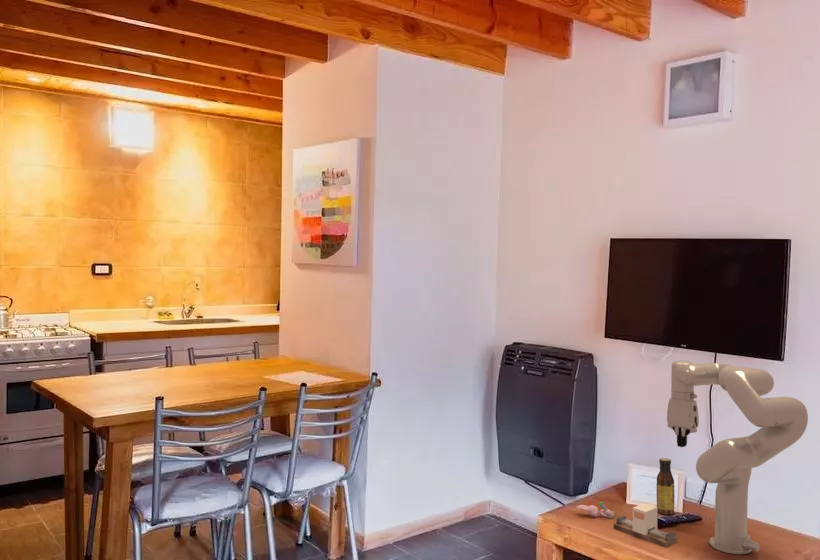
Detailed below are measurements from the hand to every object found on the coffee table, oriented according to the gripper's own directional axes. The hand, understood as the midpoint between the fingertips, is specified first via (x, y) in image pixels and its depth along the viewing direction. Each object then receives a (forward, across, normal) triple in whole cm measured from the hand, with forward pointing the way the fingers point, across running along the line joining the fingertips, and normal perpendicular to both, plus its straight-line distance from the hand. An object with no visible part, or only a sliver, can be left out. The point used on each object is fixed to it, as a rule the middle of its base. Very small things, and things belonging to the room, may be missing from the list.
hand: (681, 446), depth 244 cm
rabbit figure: (+27, +21, +20) cm, 40 cm away
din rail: (+26, +1, +22) cm, 33 cm away
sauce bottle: (+27, +8, -3) cm, 29 cm away
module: (+26, +1, +22) cm, 33 cm away
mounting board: (+27, +1, +22) cm, 35 cm away
